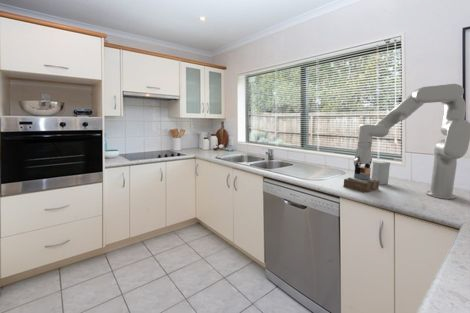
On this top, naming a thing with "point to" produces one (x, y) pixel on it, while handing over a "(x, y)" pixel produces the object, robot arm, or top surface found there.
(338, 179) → the top surface
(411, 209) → the top surface
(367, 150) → the robot arm
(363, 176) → the block
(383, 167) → the skincare box
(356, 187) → the walnut stand
